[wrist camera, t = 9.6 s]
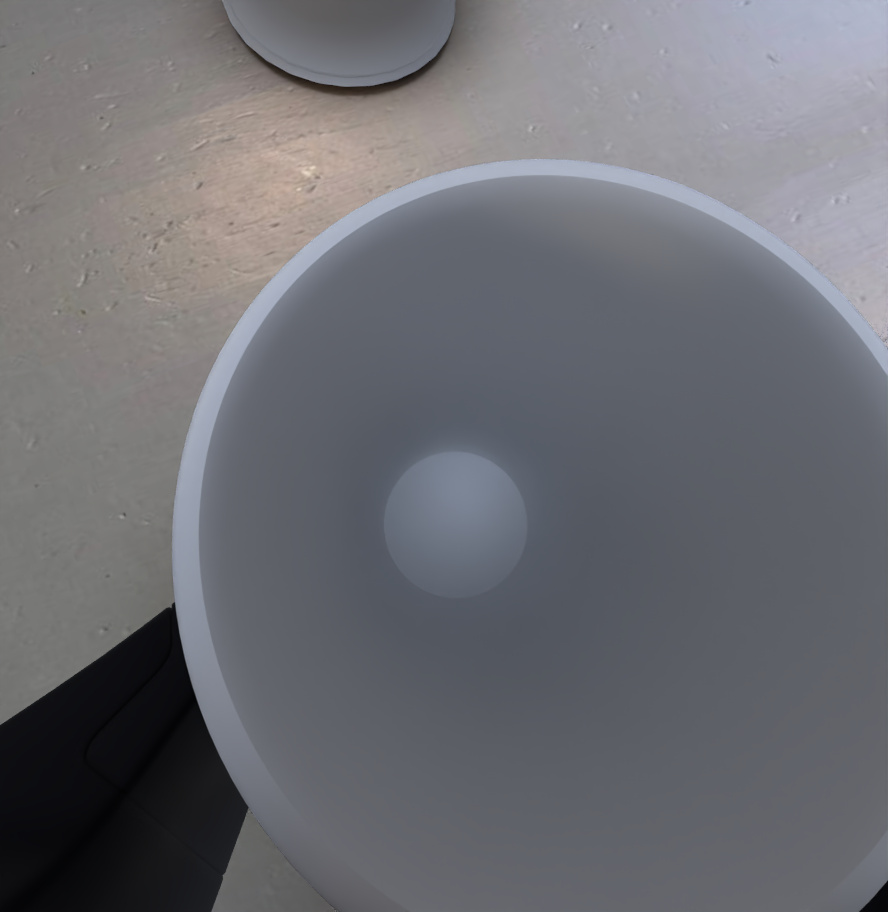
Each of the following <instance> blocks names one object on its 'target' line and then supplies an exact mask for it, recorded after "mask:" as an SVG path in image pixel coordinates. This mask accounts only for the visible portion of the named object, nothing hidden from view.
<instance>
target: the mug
mask: <svg viewBox="0 0 888 912" xmlns="http://www.w3.org/2000/svg"><path fill="white" fill-rule="evenodd" d="M172 570H173V588H174V597H175V606H176V614H177V620H178V626H179V633H180V638H181V643H182V647H183V652H184V656H185V661H186V664H187V668H188V672H189V676H190V679H191V683H192V686H193V689H194V692H195V695H196V698H197V701H198V704H199V708H200V710H201V713H202V715H203V718H204V721H205V723H206V726H207V728H208V731H209V733H210V735H211V738H212V740H213V742H214V744H215V747H216V749H217V751H218V753H219V755H220V757H221V759H222V761H223V763H224V765H225V767H226V769H227V771H228V773H229V775H230V777H231V779H232V781H233V782H234V784H235V786H236V787H237V789H238V791H239V792H240V794H241V796H242V798H243V799H244V801H245V803H246V804H247V806H248V807H249V809H250V810H251V812H252V813H253V815H254V816H255V818H256V819H257V821H258V822H259V824H260V825H261V827H262V828H263V829H264V831H265V832H266V833H267V835H268V836H269V837H270V839H271V840H272V841H273V843H274V844H275V845H276V847H277V848H278V849H279V850H280V852H281V853H282V854H283V855H284V856H285V857H286V859H287V860H288V861H289V862H290V863H291V865H292V866H293V867H294V868H295V869H296V870H297V871H298V872H299V874H300V875H301V876H302V877H303V878H304V879H305V880H306V881H307V882H308V883H309V884H310V885H311V886H312V887H313V888H314V889H315V890H316V891H317V892H318V893H319V894H320V895H321V896H322V897H323V898H324V899H325V900H326V901H327V902H328V903H329V904H330V905H331V906H333V907H334V908H335V909H336V910H337V911H338V912H859V911H860V910H861V909H862V908H863V907H864V906H865V905H866V904H867V903H868V902H869V901H870V900H871V899H872V898H873V897H874V896H875V895H876V893H877V892H878V891H879V890H880V889H881V888H882V887H883V885H884V884H885V883H886V882H887V881H888V348H887V347H886V346H885V344H884V343H883V341H882V340H881V339H880V337H879V336H878V335H877V334H876V332H875V331H874V330H873V328H872V327H871V326H870V325H869V323H868V322H867V321H866V320H865V319H864V317H863V316H862V315H861V314H860V313H859V311H858V310H857V309H856V308H855V307H854V306H853V305H852V304H851V302H850V301H849V300H848V299H847V298H846V297H845V296H844V295H843V294H842V293H841V292H840V291H839V290H838V289H837V288H836V287H835V286H834V285H833V284H832V283H831V282H830V281H829V280H828V279H827V278H826V277H825V276H824V275H823V274H822V273H821V272H820V271H818V270H817V269H816V268H815V267H814V266H813V265H812V264H811V263H810V262H808V261H807V260H806V259H805V258H804V257H802V256H801V255H800V254H799V253H798V252H796V251H795V250H794V249H792V248H791V247H790V246H789V245H787V244H786V243H785V242H783V241H782V240H781V239H779V238H778V237H776V236H775V235H774V234H772V233H771V232H769V231H768V230H766V229H765V228H763V227H762V226H760V225H759V224H757V223H756V222H754V221H752V220H751V219H749V218H748V217H746V216H744V215H743V214H741V213H739V212H737V211H736V210H734V209H732V208H730V207H729V206H727V205H725V204H723V203H721V202H719V201H717V200H715V199H713V198H711V197H709V196H707V195H705V194H703V193H700V192H698V191H696V190H694V189H691V188H689V187H686V186H684V185H681V184H679V183H676V182H673V181H670V180H667V179H665V178H661V177H658V176H655V175H651V174H648V173H644V172H640V171H636V170H632V169H627V168H623V167H618V166H612V165H607V164H600V163H593V162H585V161H575V160H560V159H525V160H510V161H499V162H492V163H484V164H479V165H473V166H468V167H463V168H459V169H454V170H450V171H447V172H443V173H439V174H436V175H433V176H429V177H426V178H423V179H420V180H418V181H415V182H412V183H409V184H407V185H404V186H402V187H400V188H397V189H395V190H393V191H390V192H388V193H386V194H384V195H382V196H380V197H378V198H376V199H374V200H372V201H370V202H368V203H366V204H365V205H363V206H361V207H359V208H358V209H356V210H354V211H353V212H351V213H349V214H348V215H346V216H345V217H343V218H342V219H340V220H339V221H337V222H336V223H334V224H333V225H331V226H330V227H329V228H327V229H326V230H325V231H323V232H322V233H321V234H319V235H318V236H317V237H316V238H314V239H313V240H312V241H311V242H309V243H308V244H307V245H306V246H305V247H304V248H302V249H301V250H300V251H299V252H298V253H297V254H296V255H295V256H294V257H293V258H292V259H290V260H289V261H288V262H287V263H286V264H285V265H284V266H283V267H282V268H281V269H280V270H279V272H278V273H277V274H276V275H275V276H274V277H273V278H272V279H271V280H270V281H269V282H268V284H267V285H266V286H265V287H264V288H263V290H262V291H261V292H260V293H259V294H258V296H257V297H256V298H255V300H254V301H253V302H252V303H251V305H250V306H249V307H248V309H247V310H246V312H245V313H244V314H243V316H242V317H241V319H240V320H239V322H238V323H237V325H236V326H235V328H234V330H233V331H232V333H231V334H230V336H229V338H228V339H227V341H226V343H225V345H224V346H223V348H222V350H221V352H220V354H219V356H218V357H217V359H216V361H215V364H214V366H213V368H212V370H211V372H210V374H209V376H208V378H207V381H206V383H205V385H204V388H203V390H202V393H201V395H200V398H199V401H198V403H197V406H196V409H195V411H194V414H193V418H192V421H191V424H190V427H189V431H188V434H187V438H186V442H185V446H184V450H183V454H182V459H181V464H180V469H179V474H178V480H177V487H176V494H175V503H174V513H173V530H172Z"/></svg>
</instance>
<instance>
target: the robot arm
mask: <svg viewBox="0 0 888 912" xmlns="http://www.w3.org/2000/svg"><path fill="white" fill-rule="evenodd" d="M248 808H249V807H248V806H247V804H246V803H245V801H244V799H243V798H242V796H241V794H240V792H239V791H238V789H237V787H236V786H235V784H234V782H233V781H232V779H231V777H230V775H229V773H228V771H227V769H226V767H225V765H224V763H223V761H222V759H221V757H220V755H219V753H218V751H217V749H216V747H215V744H214V742H213V740H212V738H211V735H210V733H209V731H208V728H207V726H206V723H205V721H204V718H203V715H202V713H201V710H200V708H199V704H198V701H197V698H196V695H195V692H194V689H193V686H192V683H191V679H190V676H189V672H188V668H187V664H186V661H185V656H184V652H183V647H182V643H181V638H180V633H179V626H178V620H177V614H176V606H175V602H174V603H173V604H172V608H170V607H168V608H166V609H165V610H163V611H162V612H161V613H159V614H158V615H157V616H156V617H154V618H153V619H152V620H150V621H149V622H148V623H146V624H145V625H144V626H142V627H141V628H140V629H138V630H137V631H136V632H134V633H133V634H132V635H130V636H129V637H127V638H126V639H125V640H123V641H122V642H121V643H119V644H118V645H117V646H115V647H114V648H113V649H111V650H110V651H108V652H107V653H106V654H104V655H103V656H102V657H100V658H99V659H97V660H96V661H94V662H93V663H91V664H90V665H88V666H87V667H86V668H84V669H83V670H81V671H80V672H78V673H77V674H75V675H74V676H72V677H71V678H70V679H68V680H67V681H65V682H64V683H62V684H61V685H59V686H58V687H57V688H55V689H54V690H52V691H51V692H49V693H48V694H46V695H45V696H43V697H42V698H40V699H39V700H37V701H36V702H34V703H33V704H31V705H30V706H28V707H27V708H25V709H24V710H22V711H21V712H19V713H18V714H16V715H15V716H13V717H12V718H10V719H9V720H7V721H6V722H4V723H3V724H1V725H0V912H211V911H212V908H213V905H214V903H215V900H216V897H217V894H218V891H219V889H220V886H221V883H222V880H223V876H222V875H223V874H224V873H225V872H226V869H227V866H228V863H229V860H230V858H231V855H232V852H233V849H234V847H235V844H236V841H237V838H238V835H239V833H240V830H241V827H242V824H243V822H244V819H245V816H246V813H247V810H248ZM859 912H888V881H887V882H886V883H885V884H884V885H883V887H882V888H881V889H880V890H879V891H878V892H877V893H876V895H875V896H874V897H873V898H872V899H871V900H870V901H869V902H868V903H867V904H866V905H865V906H864V907H863V908H862V909H861V910H860V911H859Z"/></svg>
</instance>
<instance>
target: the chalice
mask: <svg viewBox="0 0 888 912" xmlns="http://www.w3.org/2000/svg"><path fill="white" fill-rule="evenodd" d="M223 5H224V7H225V9H226V12H227V14H228V17H229V19H230V21H231V24H232V25H233V27H234V28H235V29H236V31H237V32H238V33H239V35H240V36H241V37H242V38H243V40H244V41H245V42H246V44H247V45H249V46H250V47H251V48H252V49H253V50H254V51H256V52H257V53H258V54H259V55H260V56H262V57H263V58H264V59H265V60H266V61H268V62H270V63H272V64H273V65H275V66H277V67H279V68H281V69H282V70H284V71H286V72H288V73H290V74H292V75H295V76H298V77H301V78H304V79H307V80H310V81H313V82H316V83H322V84H329V85H336V86H343V87H352V86H373V85H377V84H382V83H386V82H390V81H394V80H398V79H400V78H402V77H404V76H406V75H408V74H410V73H413V72H415V71H417V70H419V69H420V68H421V67H422V66H424V65H425V64H426V63H427V62H429V61H430V60H431V59H432V58H434V57H435V56H436V55H437V53H438V52H439V51H440V49H441V48H442V46H443V45H444V44H445V42H446V41H447V39H448V37H449V34H450V31H451V29H452V26H453V23H454V19H455V0H223Z"/></svg>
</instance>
